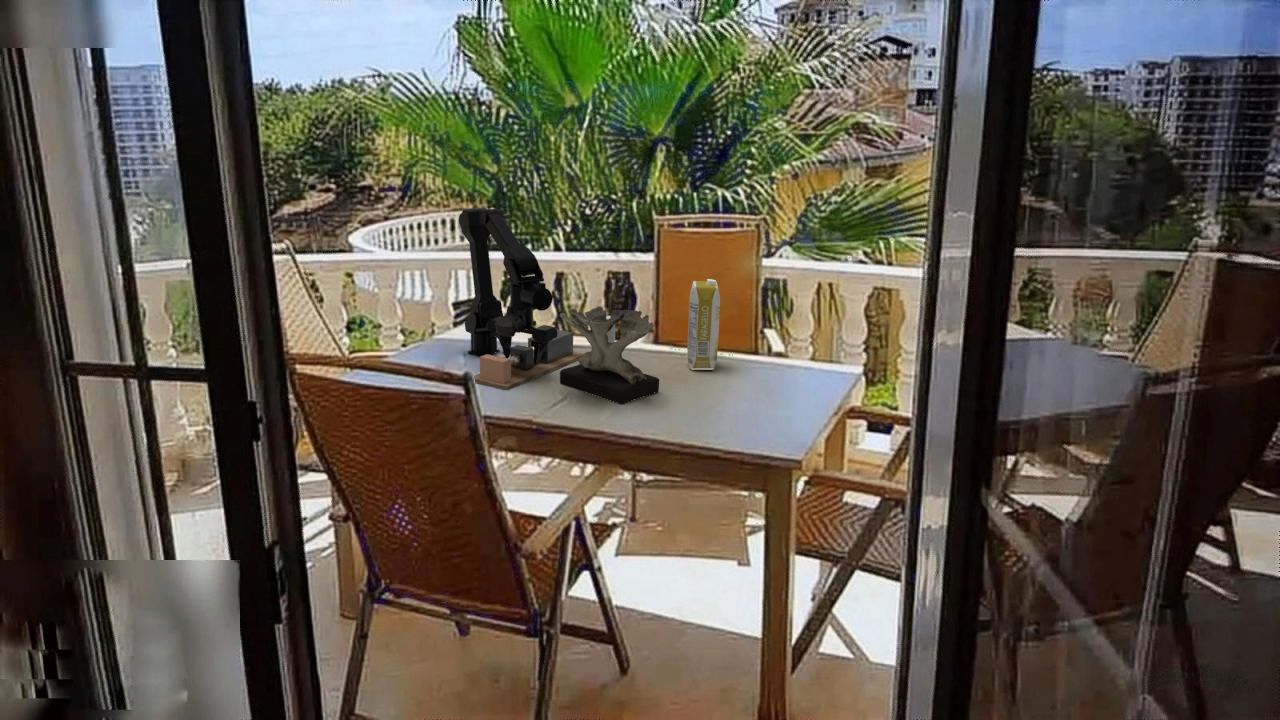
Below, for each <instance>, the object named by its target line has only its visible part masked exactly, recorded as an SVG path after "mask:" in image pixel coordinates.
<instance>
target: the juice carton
mask: <svg viewBox="0 0 1280 720" xmlns="http://www.w3.org/2000/svg"><path fill="white" fill-rule="evenodd" d="M689 293H690V294H689V302H688V305H689V306H688V307H689V308H688V325H687V326H688V327H687V328H688V329H687V346H686V347H687V348H686V349H687V361H688V367H689V370H690V369H692V368H714V367H716V363H717V360H718V351H719V350H718V347H719V329H720V313H721V310H720V309H721V296H720V294H721V293H720V289H719V285H718V282H717V280H716V279H712V278H711V279H710V278H708V279H706V280H693V281H692V285H691V287H690V292H689ZM714 369H715V368H714Z"/></svg>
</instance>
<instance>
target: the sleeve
mask: <svg viewBox="0 0 1280 720" xmlns="http://www.w3.org/2000/svg"><path fill="white" fill-rule="evenodd" d="M532 340H534V339H533V338H532V336H531V337H528V338H527V347H530V348H531V347H533V346H534V345H533V343H532V342H531V341H532ZM573 351H574V332H572V331H568V330H567V331H566V330H561V329H557V338H554V339H553V340H551V341H549V343H548V344H547V346H546V348H545V350H544V356H541V358H540V360H539V363H544V364H549V363H552V362H554V361H557V360H559V359H562V358H564V357H566V356H569V355H571V354H573ZM533 361H534V359H533Z"/></svg>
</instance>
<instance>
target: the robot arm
mask: <svg viewBox="0 0 1280 720" xmlns="http://www.w3.org/2000/svg"><path fill="white" fill-rule="evenodd" d="M458 223H459V225H460V228H461V233H462V235H463V236H464V239H466V240H467V242H468V245H469V252H470V253H469V254H470V260H471V271H472V272H471V273H472V281H473V290H474V298H473V300H472V302H471V304H470V307H469V309H470V314H469V316H468V317H467V319H466V320H465V322H464V330H465V332H466V333H469V334H470V349H469V350H467V354H471V355H475V356H479V357H481V356H484V355H486V354H489V355H490V354H492V355H494V354H493V353H495V352H497V353H500V349H498V341H499V344H500V347H501V349H502V351H503V354H504V358H507V359H509V358H510V357H511V351H510V347H512V341H513V339H512V338H513V337H514V336H515V335H516V334H517V333H518V334H520V333H522V334H528V335H531V337H532V338H533V339H534V340H532V341H531V342H532V343H533V345H534V364H538V363H539V360H540V358H541V356H542V354H543V352H544V350H545V348H546V346H547V344H548V343H549V341H551V340H553V339H554V338H557V330H558V329H557V328H556V327H555V326H553V325H552V326H550V325H547V324H543V325H540V326H536V325H537V321H536V320H534V311H535V310H537V311H546V310H548V309H549V307H551V305H552V303H553V300H554V299H553V295H552V292H551V291H550V290H549V289H548V288H546V285H547V283H545V278H544V273H543V271H542V267H540V263H539V261H538V258H537V257H536V255H535V254H534V253H533V252H532V251H531V249H530V248H528V247H526V246H524V245H523V244H522V243H520V242H519V241H518V239H517V237H516V235H515V234H514V232H513V231H512V230H511V228H510V226H509V225H508V223H507V222H506V220H505V218H503V212H502V211H501V209H500V208H499V209H498V208H486V207H477V208H476V207H475V208H465V209H463V210H462V211H461V213H460V214H459V216H458ZM490 236H491V237H492V239H493V240H494V242H495V243H496V245H497V247H498V248H499V250H500V251H501V254H502V255H503V260H502V261H503V262H502V264H503V266H504V268H505V270H506V273H507V276H509V277H508V278H507V279H506V282H507V283H509V285H510V286H509V288H510V289H509V291H510V295H509V297H510V298H509V299H510V300H509V302H510V304H509V306H507V307H506V308H507V309H506V314H505V315H504V312H503V307H502V305H503V304H502V300H500V299H497V297H496V296H495V295H494V290H493V280H492V279H493V278H492V270H491V261H490V260H491V259H490V252H489V242H488V241H489V238H490ZM535 326H536V327H535ZM495 354H496V353H495Z"/></svg>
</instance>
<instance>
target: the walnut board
mask: <svg viewBox="0 0 1280 720" xmlns="http://www.w3.org/2000/svg"><path fill="white" fill-rule="evenodd" d="M584 353H585V352H584ZM584 353H583V352H577V351H574V350H573V354H571V355H569V356H566V357H564V358H562V359H559V360H557V361H554V362H552V363H549V364H544V363H538V364H534V361H533V368H530V369H528V370H523V369H519V368H514V367H511V380H510V381H508V382H506V383H500V382H496V381H491V380H487V379H483V378H480V373H478V374H475V375H473V376H474V379H475V382H477V383H476V384H478V385H483V386H487V387H490V388H495V389H499V390H505V391H510V390H513V389H515V388H516V387H519V386H521V385H523V384H526V383H528V382H530V381H533V380H536V379H538V378H540V377H542V376H545V375H547V374H550V373H552V372H554V371H556V370H559V369H561V368H564V367H566V366H568V365H571V364H574V363H576V362H578V361H577V360H578V359H579V358H580V357H581V356H583V355H584Z"/></svg>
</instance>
